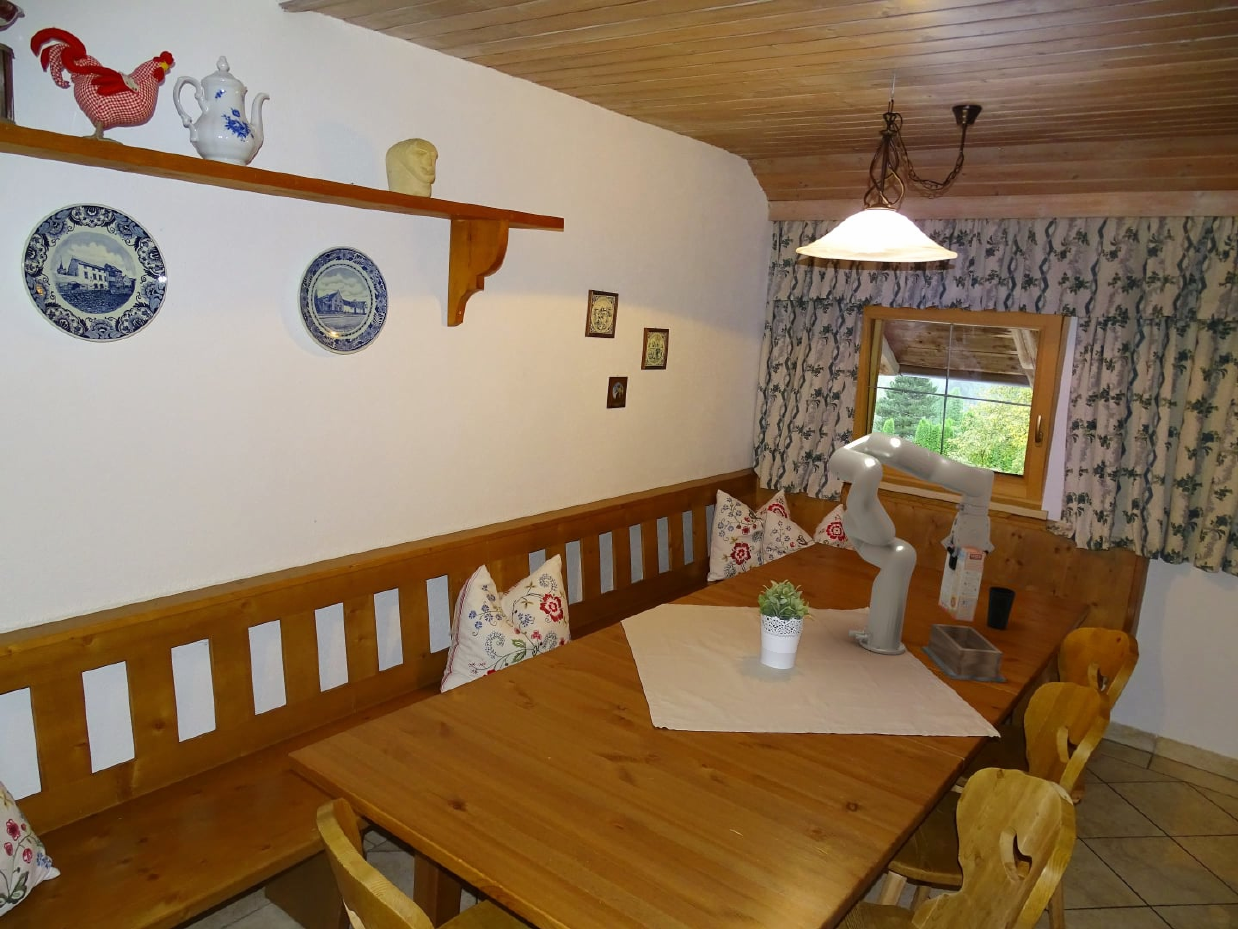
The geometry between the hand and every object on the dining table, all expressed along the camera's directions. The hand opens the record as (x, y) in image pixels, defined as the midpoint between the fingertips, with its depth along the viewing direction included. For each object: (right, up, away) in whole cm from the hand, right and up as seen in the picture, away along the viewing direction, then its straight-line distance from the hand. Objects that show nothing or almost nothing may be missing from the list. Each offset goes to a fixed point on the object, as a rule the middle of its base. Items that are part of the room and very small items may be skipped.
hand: (963, 569), depth 258 cm
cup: (+18, -21, +20) cm, 34 cm away
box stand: (-7, -24, -16) cm, 30 cm away
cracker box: (-1, -14, +2) cm, 14 cm away
